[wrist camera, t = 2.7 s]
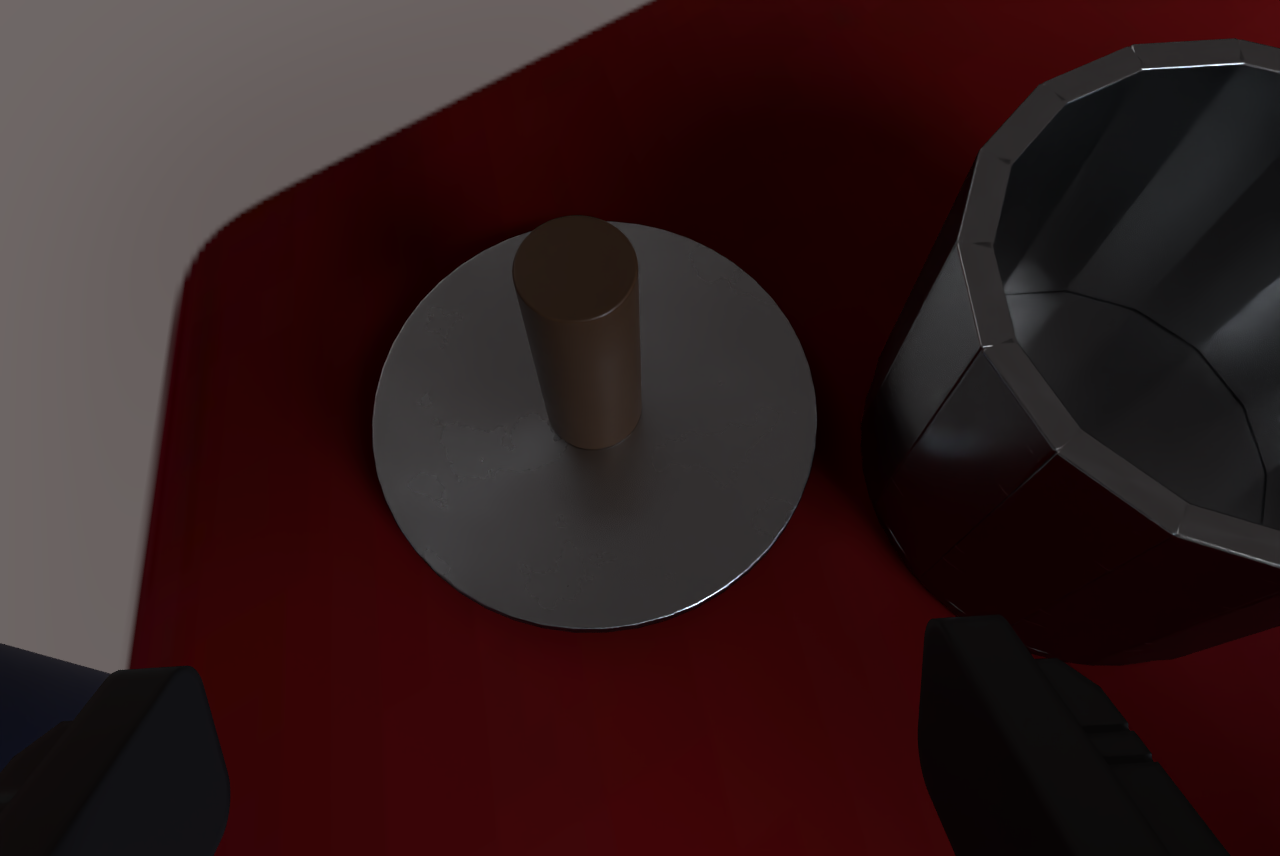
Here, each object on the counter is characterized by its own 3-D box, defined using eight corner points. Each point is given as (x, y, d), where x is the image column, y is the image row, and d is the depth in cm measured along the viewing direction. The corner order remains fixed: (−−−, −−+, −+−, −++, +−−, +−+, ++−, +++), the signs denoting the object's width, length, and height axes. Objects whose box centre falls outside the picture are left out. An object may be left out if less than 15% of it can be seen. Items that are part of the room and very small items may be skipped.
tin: (897, 681, 24) (1039, 598, 15) (832, 293, 28) (913, 56, 20) (1340, 650, 24) (1733, 551, 15) (1207, 270, 28) (1453, 24, 20)
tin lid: (372, 653, 24) (248, 577, 17) (390, 253, 29) (299, 56, 22) (841, 621, 25) (924, 532, 17) (783, 229, 29) (827, 25, 22)
